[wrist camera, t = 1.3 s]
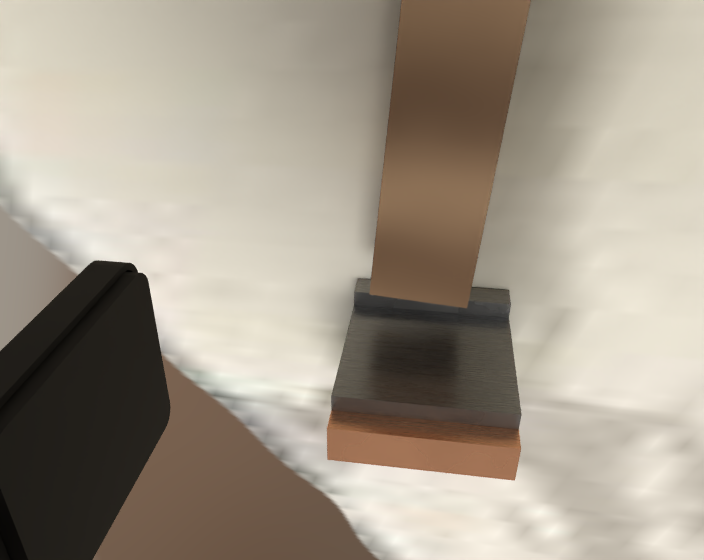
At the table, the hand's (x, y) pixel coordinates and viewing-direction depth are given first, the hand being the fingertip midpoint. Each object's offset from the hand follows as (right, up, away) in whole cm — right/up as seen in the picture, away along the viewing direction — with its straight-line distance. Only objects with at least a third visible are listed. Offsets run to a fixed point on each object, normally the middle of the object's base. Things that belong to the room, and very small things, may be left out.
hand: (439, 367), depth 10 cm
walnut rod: (+3, +9, +15) cm, 18 cm away
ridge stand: (+2, -1, +21) cm, 21 cm away
